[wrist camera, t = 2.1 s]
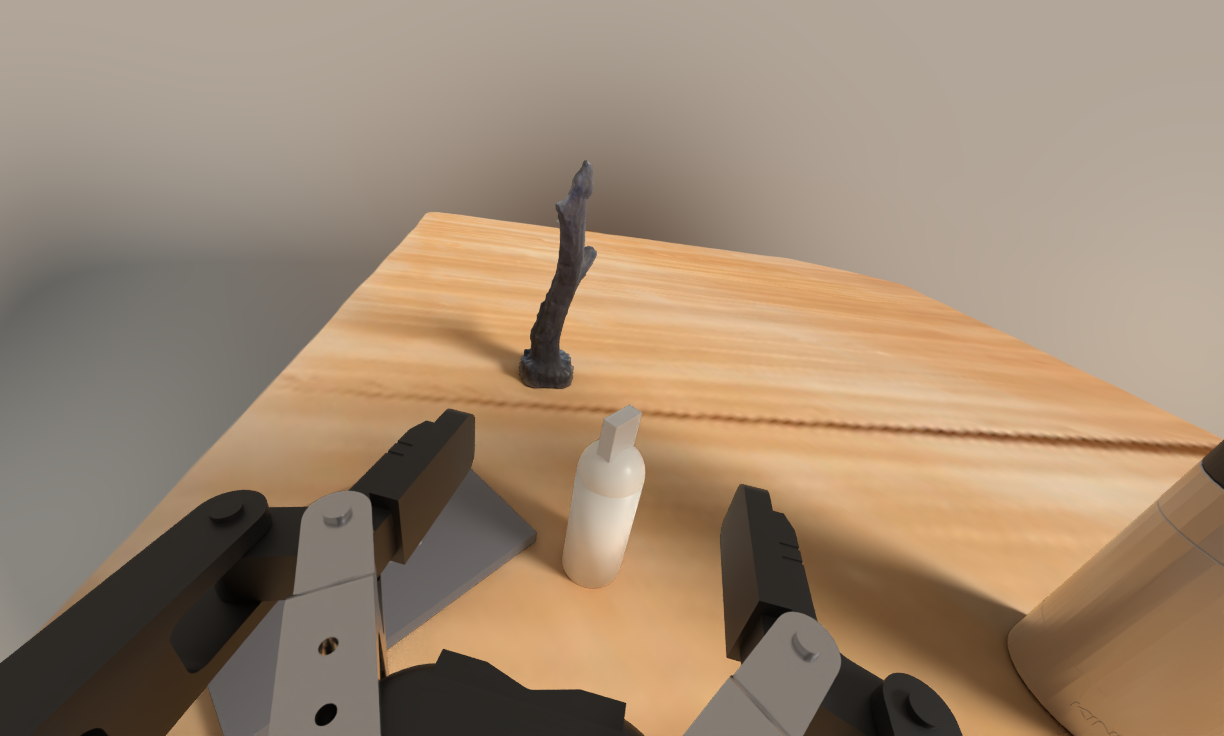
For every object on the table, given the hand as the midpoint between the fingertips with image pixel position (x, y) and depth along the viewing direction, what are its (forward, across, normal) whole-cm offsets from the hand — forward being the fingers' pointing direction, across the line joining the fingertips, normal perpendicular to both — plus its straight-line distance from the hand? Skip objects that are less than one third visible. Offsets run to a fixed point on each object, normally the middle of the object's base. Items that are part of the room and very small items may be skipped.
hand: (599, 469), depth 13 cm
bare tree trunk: (+34, +10, +19) cm, 40 cm away
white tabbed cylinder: (+11, 0, +19) cm, 22 cm away
